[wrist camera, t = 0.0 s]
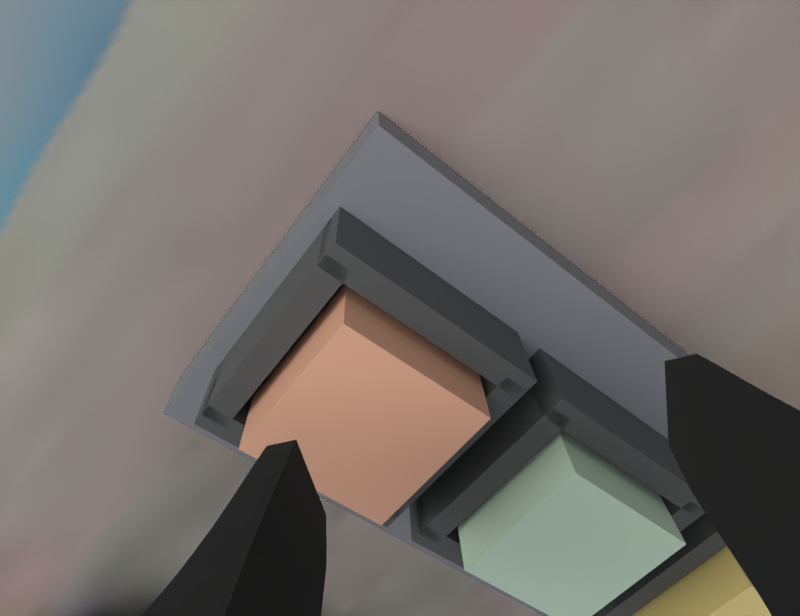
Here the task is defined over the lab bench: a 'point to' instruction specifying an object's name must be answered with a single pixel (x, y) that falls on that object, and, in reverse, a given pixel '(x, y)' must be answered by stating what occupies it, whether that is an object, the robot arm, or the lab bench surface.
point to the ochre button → (710, 592)
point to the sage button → (568, 531)
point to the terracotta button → (367, 406)
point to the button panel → (460, 342)
